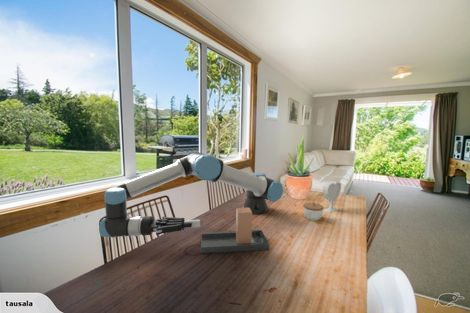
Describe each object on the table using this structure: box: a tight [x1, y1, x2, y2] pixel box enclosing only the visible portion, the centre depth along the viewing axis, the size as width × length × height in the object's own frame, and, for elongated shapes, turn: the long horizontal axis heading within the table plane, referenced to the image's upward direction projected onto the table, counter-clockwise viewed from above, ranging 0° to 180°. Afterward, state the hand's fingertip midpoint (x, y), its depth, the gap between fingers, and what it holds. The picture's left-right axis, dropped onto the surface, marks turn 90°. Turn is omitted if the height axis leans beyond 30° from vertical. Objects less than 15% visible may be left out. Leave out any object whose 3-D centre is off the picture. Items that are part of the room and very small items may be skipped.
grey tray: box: [200, 229, 270, 254], centre depth 94 cm, size 28×13×2 cm, turn 97°
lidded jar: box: [303, 202, 325, 222], centre depth 123 cm, size 11×11×9 cm
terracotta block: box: [235, 207, 253, 244], centre depth 94 cm, size 6×6×14 cm
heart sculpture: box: [322, 180, 342, 214], centre depth 137 cm, size 16×5×18 cm, turn 126°
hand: (199, 223), depth 91 cm, fingers closed
